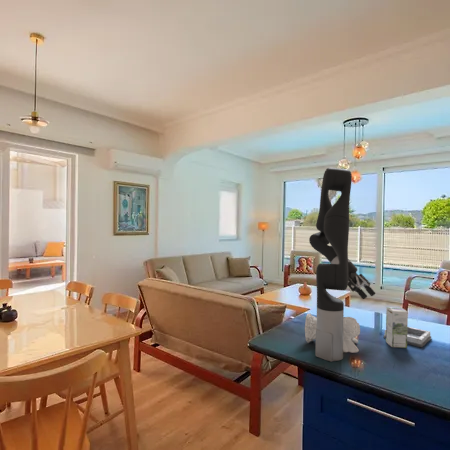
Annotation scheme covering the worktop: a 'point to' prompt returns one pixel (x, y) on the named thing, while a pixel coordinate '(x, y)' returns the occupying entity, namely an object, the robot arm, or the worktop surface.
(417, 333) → the tray
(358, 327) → the cherub figurine
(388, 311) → the syrup box
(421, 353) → the worktop surface
